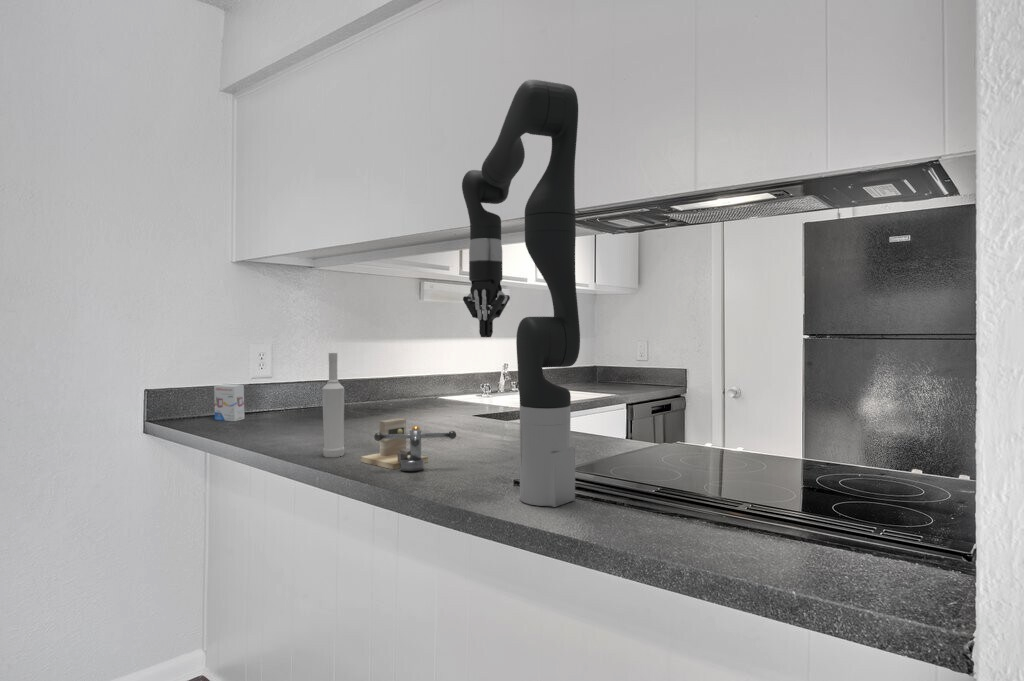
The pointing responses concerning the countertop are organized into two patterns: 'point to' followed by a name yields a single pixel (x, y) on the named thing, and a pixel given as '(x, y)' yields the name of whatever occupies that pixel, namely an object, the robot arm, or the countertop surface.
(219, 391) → the ink box
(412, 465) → the grey cross handle
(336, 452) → the bottle
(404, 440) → the stand
